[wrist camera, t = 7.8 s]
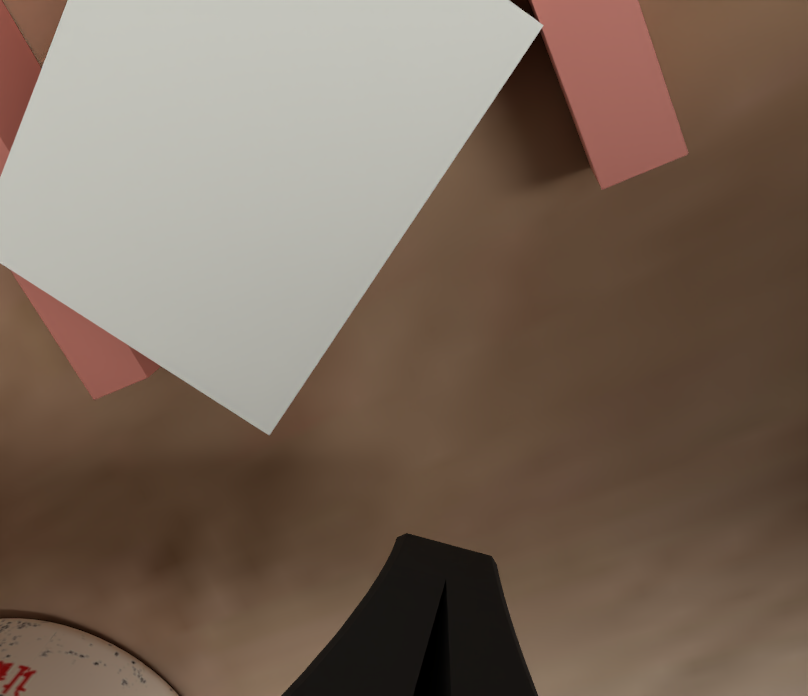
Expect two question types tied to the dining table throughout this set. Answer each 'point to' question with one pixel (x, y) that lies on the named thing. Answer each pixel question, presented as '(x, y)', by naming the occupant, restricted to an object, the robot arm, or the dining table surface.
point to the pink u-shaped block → (580, 82)
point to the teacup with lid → (69, 663)
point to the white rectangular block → (241, 169)
